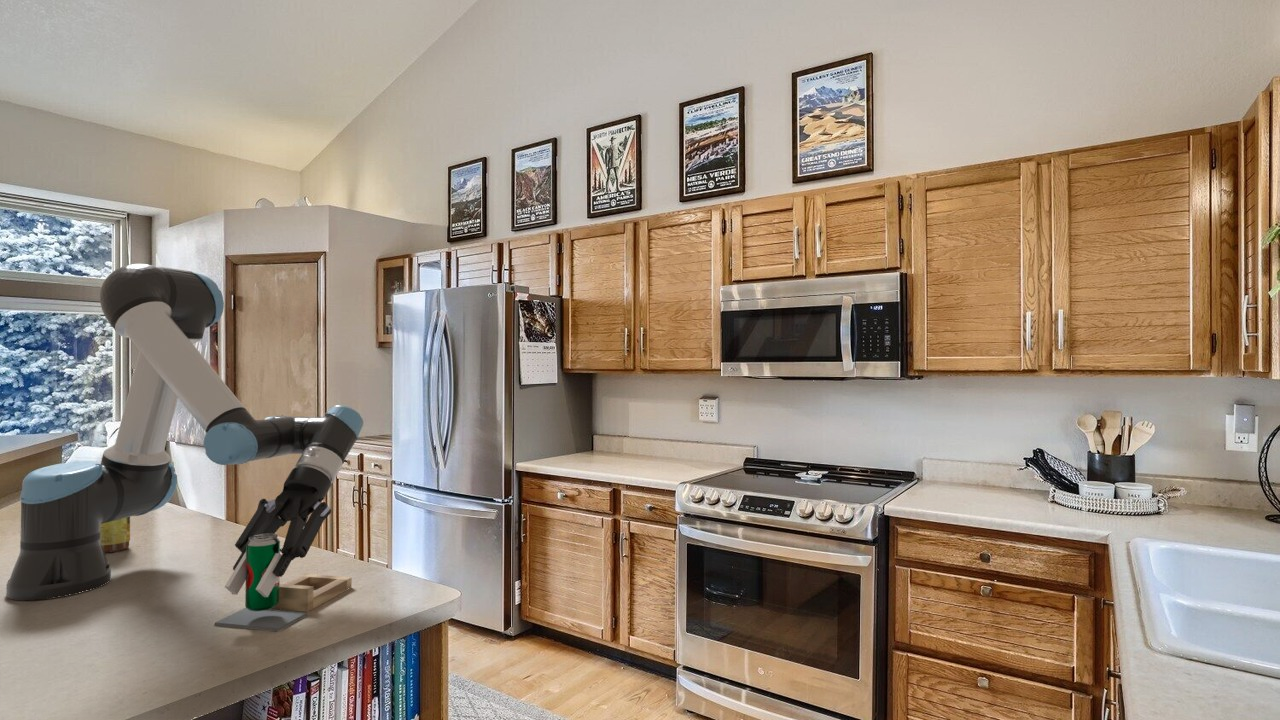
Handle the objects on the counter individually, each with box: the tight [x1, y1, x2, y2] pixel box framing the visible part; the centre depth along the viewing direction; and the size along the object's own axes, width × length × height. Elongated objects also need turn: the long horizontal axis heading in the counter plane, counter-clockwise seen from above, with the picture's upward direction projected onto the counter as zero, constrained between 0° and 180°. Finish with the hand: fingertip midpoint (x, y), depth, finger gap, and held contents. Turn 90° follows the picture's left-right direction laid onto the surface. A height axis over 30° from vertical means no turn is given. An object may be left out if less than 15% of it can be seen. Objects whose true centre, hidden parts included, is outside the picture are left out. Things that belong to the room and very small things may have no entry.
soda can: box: [244, 533, 281, 611], centre depth 113 cm, size 5×5×12 cm
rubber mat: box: [214, 607, 308, 632], centre depth 112 cm, size 12×7×1 cm, turn 80°
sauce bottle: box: [100, 517, 131, 554], centre depth 152 cm, size 7×6×20 cm
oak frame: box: [271, 573, 353, 613], centre depth 124 cm, size 10×13×4 cm
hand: (246, 591), depth 109 cm, fingers closed on soda can, 5 cm apart
